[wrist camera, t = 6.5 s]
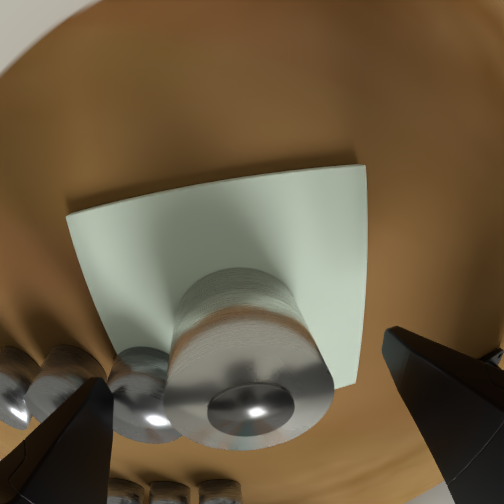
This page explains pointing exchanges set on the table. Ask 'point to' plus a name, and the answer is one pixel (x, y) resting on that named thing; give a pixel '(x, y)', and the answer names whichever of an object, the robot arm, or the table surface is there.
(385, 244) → the table surface
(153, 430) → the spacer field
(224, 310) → the stepped steel cylinder
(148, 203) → the sage mat
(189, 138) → the table surface
